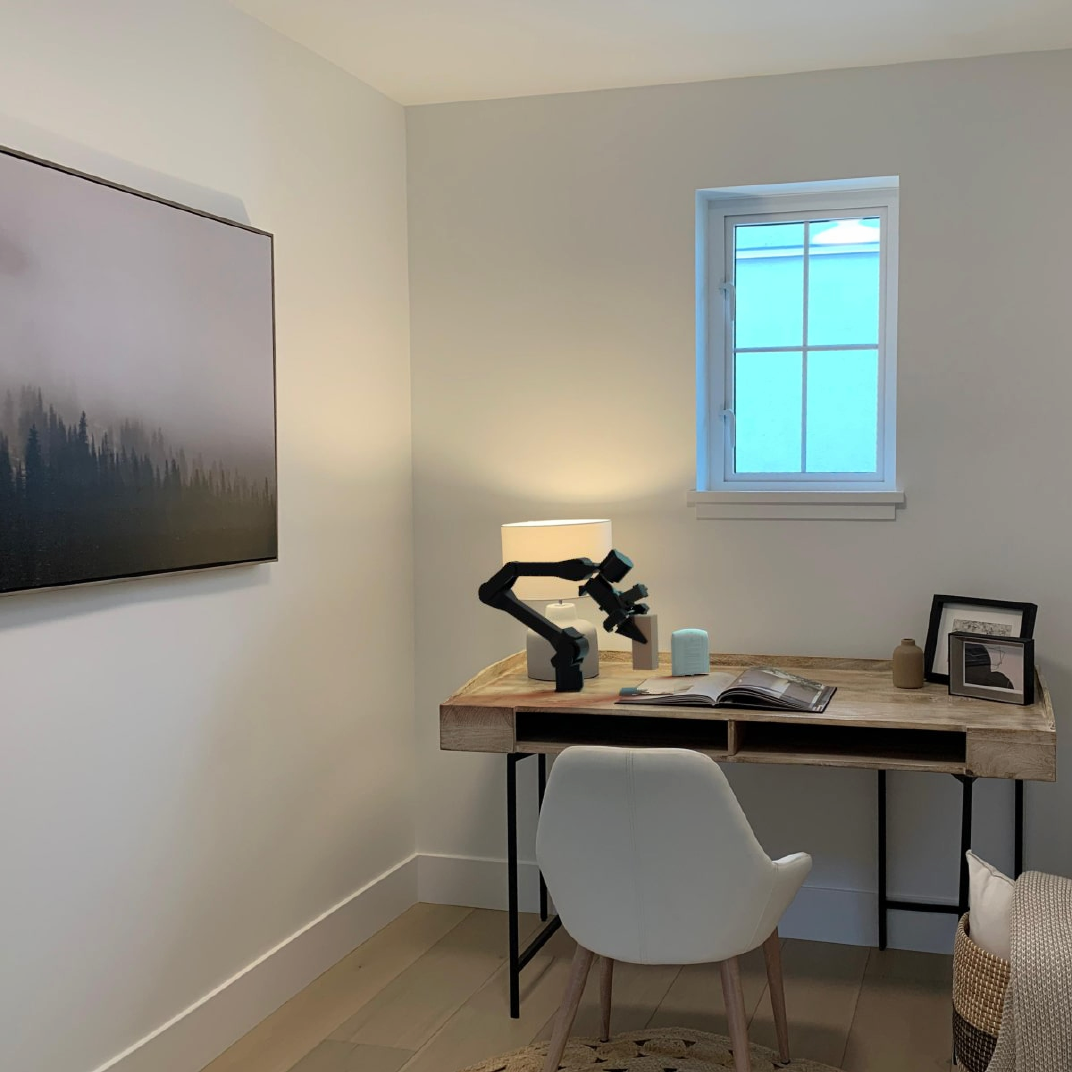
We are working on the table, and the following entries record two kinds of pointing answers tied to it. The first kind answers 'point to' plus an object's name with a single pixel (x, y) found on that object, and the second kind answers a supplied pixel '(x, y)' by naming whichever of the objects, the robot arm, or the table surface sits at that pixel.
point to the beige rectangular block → (646, 653)
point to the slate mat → (630, 691)
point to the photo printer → (689, 652)
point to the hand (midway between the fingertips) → (650, 641)
